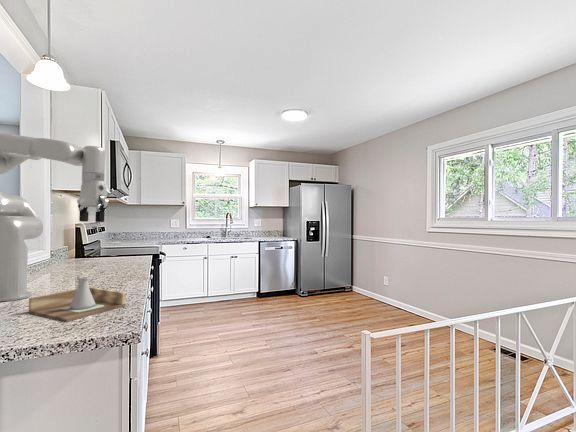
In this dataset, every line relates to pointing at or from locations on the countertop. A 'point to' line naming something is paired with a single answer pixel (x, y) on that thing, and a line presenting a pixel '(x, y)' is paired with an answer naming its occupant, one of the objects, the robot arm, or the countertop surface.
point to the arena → (60, 302)
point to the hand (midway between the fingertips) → (91, 221)
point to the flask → (82, 295)
